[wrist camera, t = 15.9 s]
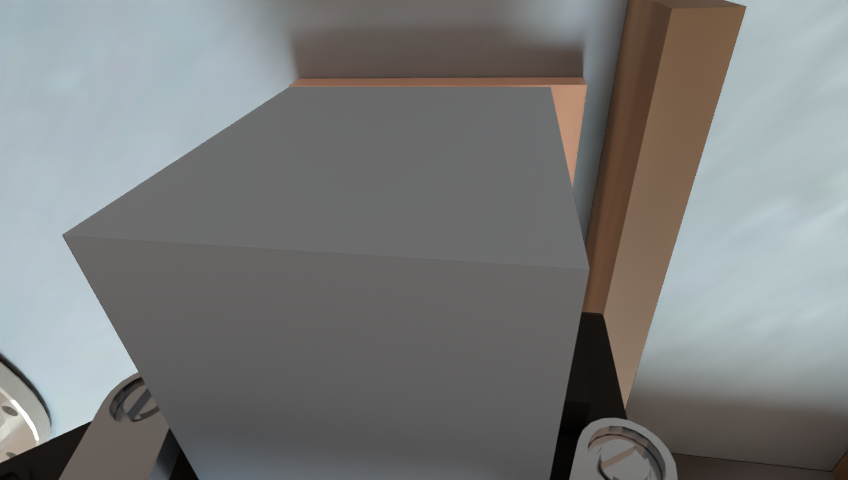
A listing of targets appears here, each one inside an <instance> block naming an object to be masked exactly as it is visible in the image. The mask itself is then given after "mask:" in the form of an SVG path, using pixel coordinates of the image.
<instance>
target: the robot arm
mask: <svg viewBox="0 0 848 480" xmlns="http://www.w3.org/2000/svg"><path fill="white" fill-rule="evenodd" d="M50 435H51V427H50V421H49V418H48V416H47V413H46V411H45V409H44V407H43V406H42V404H41V403H40V401H39V400H38V398H37V397H36V396H35V394H34V393H33V392H32V391H31V390H30V389H29V388H28V386H27V385H26V384H25V383H24V382H23V381H22V380H21V379H20V378H19V377H18V376H17V375H15V374H14V373H13V372H12V371H11V370H10V369H9V368H7V367H6V366H5V365H4V364H3V363H1V362H0V480H199V479H198V477H197V475H196V473H195V472H194V470H193V468H192V466H191V464H190V463H189V461H188V459H187V457H186V455H185V454H184V452H183V450H182V448H181V447H180V445H179V443H178V441H177V439H176V438H175V436H174V434H173V432H172V430H171V429H170V427H169V425H168V423H167V422H166V420H165V418H164V416H163V414H162V413H161V411H160V409H159V407H158V405H157V404H156V402H155V400H154V398H153V397H152V395H151V393H150V391H149V389H148V388H147V386H146V384H145V382H144V380H143V379H142V377H141V375H140V373H139V372H138V373H136V374H133V375H132V376H130V377H128V378H127V379H125V380H124V381H122V382H121V383H120V384H118V385H117V386H116V387H115V388H114V389H113V390H112V391H111V392H110V393H109V394H108V396H107V397H106V398H105V400H104V401H103V403H102V405H101V406H100V408H99V410H98V412H97V413H96V415H95V417H94V419H93V420H92V421H91V422H88V423H86V424H84V425H82V426H80V427H78V428H75V429H73V430H71V431H69V432H67V433H64V434H62V435H60V436H58V437H56V438H53V439H51V440H49V439H50ZM549 480H677V471H676V464H675V461H674V459H673V457H672V455H671V453H670V451H669V449H668V448H667V447H666V446H665V445H664V444H663V442H662V441H661V440H660V439H659V438H658V437H657V436H656V435H654V434H653V433H652V432H650V431H649V430H648V429H646V428H645V427H643V426H641V425H638V424H636V423H634V422H632V421H629V420H627V417H626V412H625V408H624V403H623V399H622V395H621V390H620V386H619V381H618V377H617V372H616V368H615V363H614V359H613V354H612V350H611V345H610V341H609V336H608V332H607V328H606V323H605V319H604V316H603V315H602V313H591V312H581V317H580V322H579V328H578V333H577V338H576V343H575V349H574V354H573V359H572V364H571V369H570V375H569V380H568V385H567V390H566V396H565V401H564V406H563V411H562V417H561V422H560V427H559V432H558V437H557V443H556V448H555V453H554V458H553V464H552V469H551V474H550V479H549Z"/></svg>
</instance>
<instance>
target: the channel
mask: <svg viewBox="0 0 848 480" xmlns="http://www.w3.org/2000/svg"><path fill="white" fill-rule="evenodd" d="M745 10H746V6H743V5H739V4H736V3H732V2H728V1H725V0H628V6H627V11H626V17H625V23H624V28H623V34H622V40H621V45H620V51H619V57H618V63H617V68H616V74H615V80H614V85H613V91H612V97H611V102H610V108H609V114H608V119H607V125H606V131H605V137H604V142H603V148H602V154H601V159H600V165H599V171H598V176H597V182H596V188H595V193H594V199H593V205H592V211H591V216H590V222H589V228H588V233H587V239H586V245H585V250H586V254H587V259H588V264H589V268H590V270H589V275H588V281H587V286H586V291H585V296H584V302H583V307H582V312H591V313H602V315H603V316H604V319H605V323H606V328H607V332H608V336H609V341H610V345H611V350H612V354H613V359H614V363H615V368H616V372H617V377H618V381H619V386H620V390H621V395H622V399H623V403H624V408H626V405H627V401H628V398H629V395H630V391H631V388H632V385H633V381H634V378H635V375H636V371H637V368H638V365H639V362H640V358H641V355H642V352H643V348H644V345H645V342H646V338H647V335H648V332H649V328H650V325H651V322H652V318H653V315H654V312H655V308H656V305H657V302H658V298H659V295H660V292H661V289H662V285H663V282H664V279H665V275H666V272H667V269H668V265H669V262H670V259H671V255H672V252H673V249H674V245H675V242H676V239H677V235H678V232H679V229H680V225H681V222H682V219H683V216H684V212H685V209H686V206H687V202H688V199H689V196H690V192H691V189H692V186H693V182H694V179H695V176H696V172H697V169H698V166H699V162H700V159H701V156H702V152H703V149H704V146H705V143H706V139H707V136H708V133H709V129H710V126H711V123H712V119H713V116H714V113H715V109H716V106H717V103H718V99H719V96H720V93H721V89H722V86H723V83H724V79H725V76H726V73H727V70H728V66H729V63H730V60H731V56H732V53H733V50H734V46H735V43H736V40H737V36H738V33H739V30H740V26H741V23H742V20H743V16H744V13H745ZM671 455H672V457H673V459H674V461H675V464H676V471H677V480H848V452H847V453H846V454H845V456H844V457H843V458H842V460H841V461H840V462H839V463H838V465H837V466H836V467H835V469H834V470H833V471H832V472H825V471H817V470H808V469H799V468H791V467H782V466H773V465H765V464H756V463H747V462H739V461H730V460H721V459H713V458H704V457H695V456H687V455H678V454H671Z"/></svg>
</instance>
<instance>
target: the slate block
mask: <svg viewBox="0 0 848 480" xmlns="http://www.w3.org/2000/svg"><path fill="white" fill-rule="evenodd" d="M62 236H63V238H64V239H65V241H66V243H67V245H68V247H69V248H70V250H71V252H72V254H73V256H74V257H75V259H76V261H77V263H78V264H79V266H80V268H81V270H82V272H83V273H84V275H85V277H86V279H87V281H88V282H89V284H90V286H91V288H92V289H93V291H94V293H95V295H96V297H97V298H98V300H99V302H100V304H101V306H102V307H103V309H104V311H105V313H106V314H107V316H108V318H109V320H110V322H111V323H112V325H113V327H114V329H115V331H116V332H117V334H118V336H119V338H120V339H121V341H122V343H123V345H124V347H125V348H126V350H127V352H128V354H129V356H130V357H131V359H132V361H133V363H134V364H135V366H136V368H137V370H138V372H139V373H140V375H141V377H142V379H143V380H144V382H145V384H146V386H147V388H148V389H149V391H150V393H151V395H152V397H153V398H154V400H155V402H156V404H157V405H158V407H159V409H160V411H161V413H162V414H163V416H164V418H165V420H166V422H167V423H168V425H169V427H170V429H171V430H172V432H173V434H174V436H175V438H176V439H177V441H178V443H179V445H180V447H181V448H182V450H183V452H184V454H185V455H186V457H187V459H188V461H189V463H190V464H191V466H192V468H193V470H194V472H195V473H196V475H197V477H198V479H199V480H549V479H550V474H551V469H552V464H553V458H554V453H555V448H556V443H557V437H558V432H559V427H560V422H561V417H562V411H563V406H564V401H565V396H566V390H567V385H568V380H569V375H570V369H571V364H572V359H573V354H574V349H575V343H576V338H577V333H578V328H579V322H580V317H581V312H582V307H583V302H584V296H585V291H586V286H587V281H588V275H589V270H590V268H589V264H588V259H587V254H586V250H585V245H584V240H583V236H582V231H581V226H580V222H579V217H578V212H577V208H576V203H575V198H574V194H573V189H572V184H571V180H570V175H569V170H568V166H567V161H566V156H565V152H564V147H563V142H562V138H561V133H560V128H559V124H558V119H557V114H556V110H555V105H554V100H553V96H552V91H551V87H315V86H290V87H288V88H287V89H285V90H284V91H282V92H281V93H279V94H278V95H276V96H275V97H273V98H272V99H270V100H268V101H267V102H265V103H264V104H262V105H261V106H259V107H258V108H256V109H255V110H253V111H252V112H250V113H249V114H247V115H245V116H244V117H242V118H241V119H239V120H238V121H236V122H235V123H233V124H232V125H230V126H229V127H227V128H225V129H224V130H222V131H221V132H219V133H218V134H216V135H215V136H213V137H212V138H210V139H209V140H207V141H206V142H204V143H202V144H201V145H199V146H198V147H196V148H195V149H193V150H192V151H190V152H189V153H187V154H186V155H184V156H183V157H181V158H179V159H178V160H176V161H175V162H173V163H172V164H170V165H169V166H167V167H166V168H164V169H163V170H161V171H160V172H158V173H156V174H155V175H153V176H152V177H150V178H149V179H147V180H146V181H144V182H143V183H141V184H140V185H138V186H137V187H135V188H133V189H132V190H130V191H129V192H127V193H126V194H124V195H123V196H121V197H120V198H118V199H117V200H115V201H113V202H112V203H110V204H109V205H107V206H106V207H104V208H103V209H101V210H100V211H98V212H97V213H95V214H94V215H92V216H90V217H89V218H87V219H86V220H84V221H83V222H81V223H80V224H78V225H77V226H75V227H74V228H72V229H71V230H69V231H67V232H66V233H64V234H63V235H62Z"/></svg>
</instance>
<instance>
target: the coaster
mask: <svg viewBox="0 0 848 480" xmlns="http://www.w3.org/2000/svg"><path fill="white" fill-rule="evenodd" d="M290 86H315V87H551V91H552V96H553V100H554V105H555V110H556V114H557V119H558V124H559V128H560V133H561V138H562V142H563V147H564V152H565V156H566V161H567V166H568V170H569V175H570V180H571V184H572V188H573V181H574V174H575V167H576V160H577V153H578V146H579V140H580V133H581V126H582V119H583V112H584V105H585V98H586V91H587V83H586V81H585V79H584V77H507V78H325V79H299V80H297V81H296V82H294V83H292V84H291V85H289V87H290Z"/></svg>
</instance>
